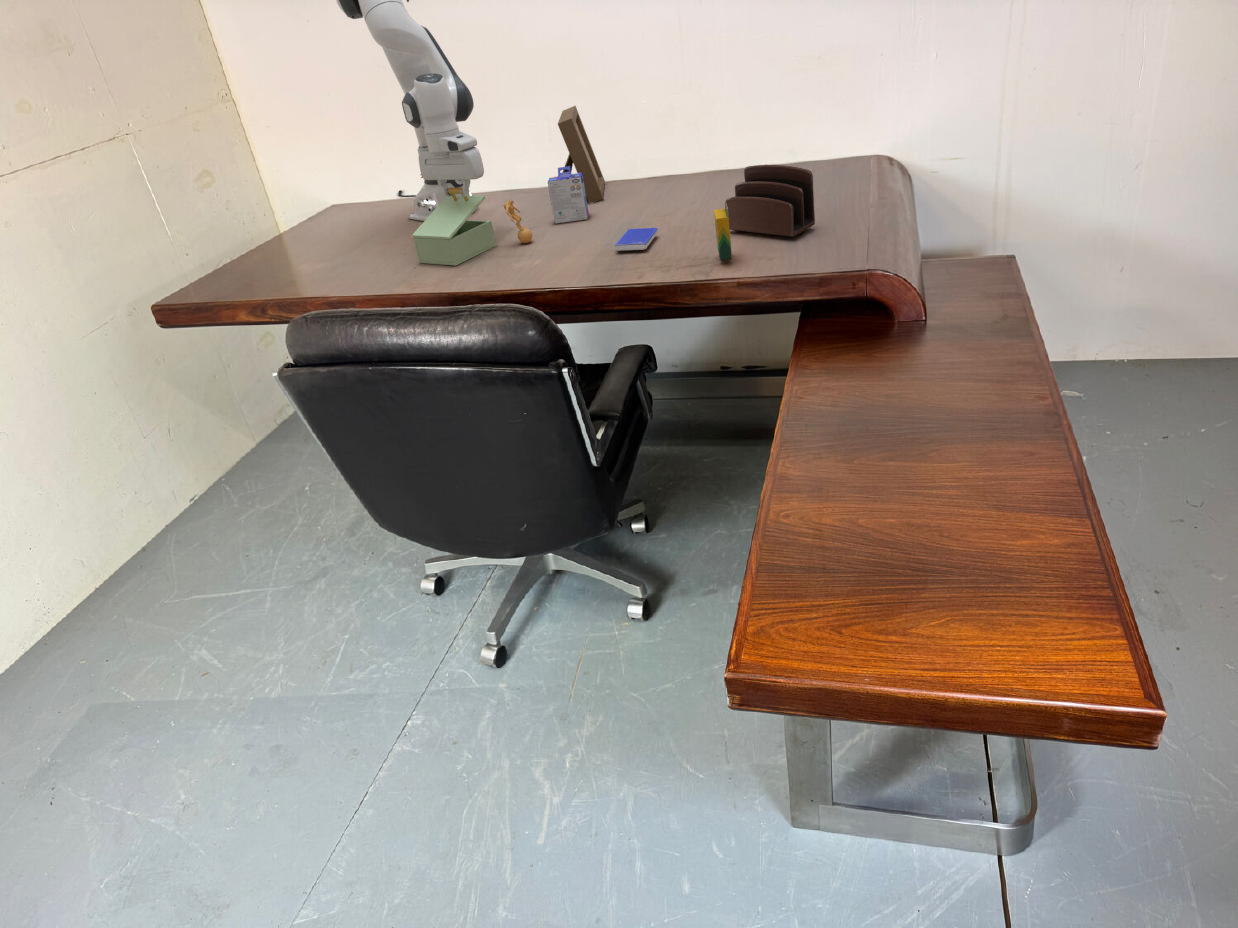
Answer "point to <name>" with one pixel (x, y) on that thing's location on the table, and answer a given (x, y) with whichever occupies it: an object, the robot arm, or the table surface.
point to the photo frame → (581, 154)
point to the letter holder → (773, 201)
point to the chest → (457, 244)
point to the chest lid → (449, 216)
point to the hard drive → (636, 239)
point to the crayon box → (723, 233)
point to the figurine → (518, 223)
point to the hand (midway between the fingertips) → (457, 196)
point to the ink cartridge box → (568, 196)
